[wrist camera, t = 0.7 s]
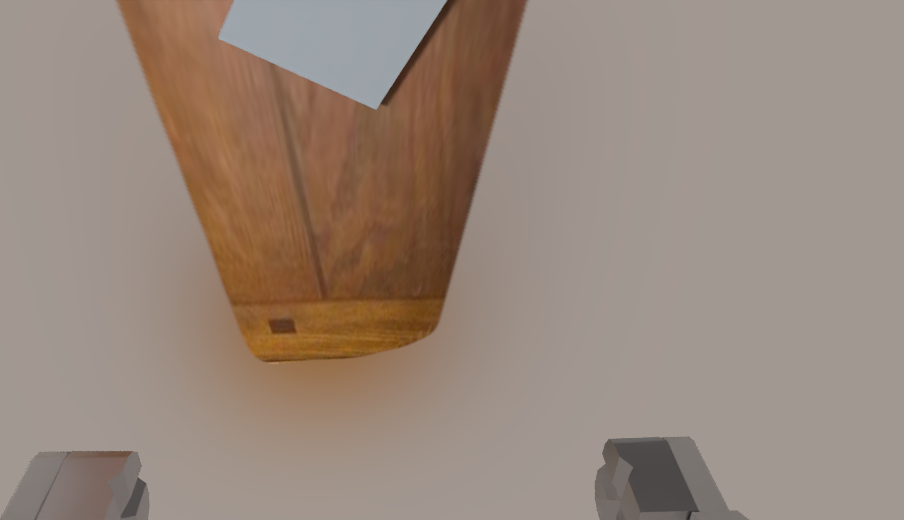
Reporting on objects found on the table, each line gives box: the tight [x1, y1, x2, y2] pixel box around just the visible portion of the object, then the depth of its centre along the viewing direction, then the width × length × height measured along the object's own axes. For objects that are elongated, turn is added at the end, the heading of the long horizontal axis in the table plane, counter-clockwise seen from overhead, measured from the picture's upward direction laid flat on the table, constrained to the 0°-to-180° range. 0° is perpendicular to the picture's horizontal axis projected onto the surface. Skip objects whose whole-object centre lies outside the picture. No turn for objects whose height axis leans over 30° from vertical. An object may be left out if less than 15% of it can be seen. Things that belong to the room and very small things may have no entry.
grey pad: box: [218, 0, 447, 109], centre depth 50 cm, size 13×13×1 cm
